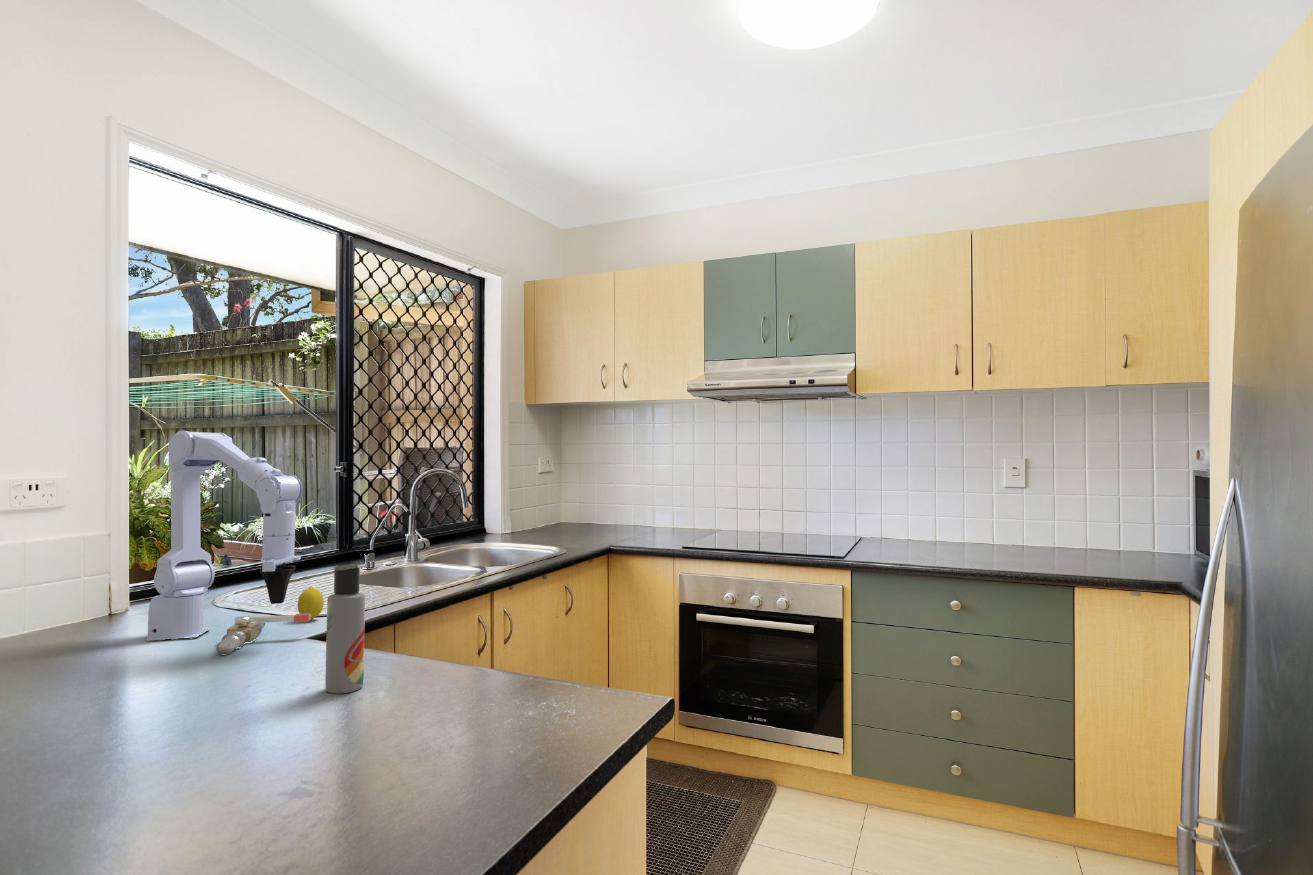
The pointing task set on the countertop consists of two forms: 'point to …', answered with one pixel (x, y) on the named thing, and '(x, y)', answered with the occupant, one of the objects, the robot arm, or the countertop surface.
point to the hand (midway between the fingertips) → (277, 603)
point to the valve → (239, 636)
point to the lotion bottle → (345, 632)
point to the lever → (273, 619)
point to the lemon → (310, 602)
